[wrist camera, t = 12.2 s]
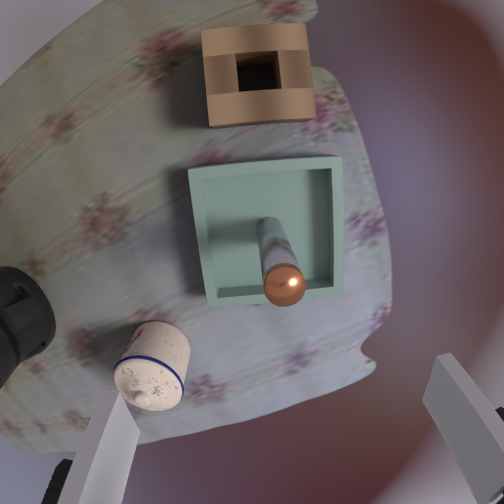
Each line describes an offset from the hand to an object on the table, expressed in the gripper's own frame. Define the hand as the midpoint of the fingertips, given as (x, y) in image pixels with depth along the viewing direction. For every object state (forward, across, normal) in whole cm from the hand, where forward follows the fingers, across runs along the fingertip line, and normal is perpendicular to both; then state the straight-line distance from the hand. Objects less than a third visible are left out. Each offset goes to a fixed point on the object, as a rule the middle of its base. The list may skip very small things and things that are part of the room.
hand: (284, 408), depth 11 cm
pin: (+26, +2, 0) cm, 26 cm away
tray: (+27, +2, 0) cm, 27 cm away
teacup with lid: (+28, -15, -18) cm, 36 cm away
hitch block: (+27, +2, +17) cm, 32 cm away
